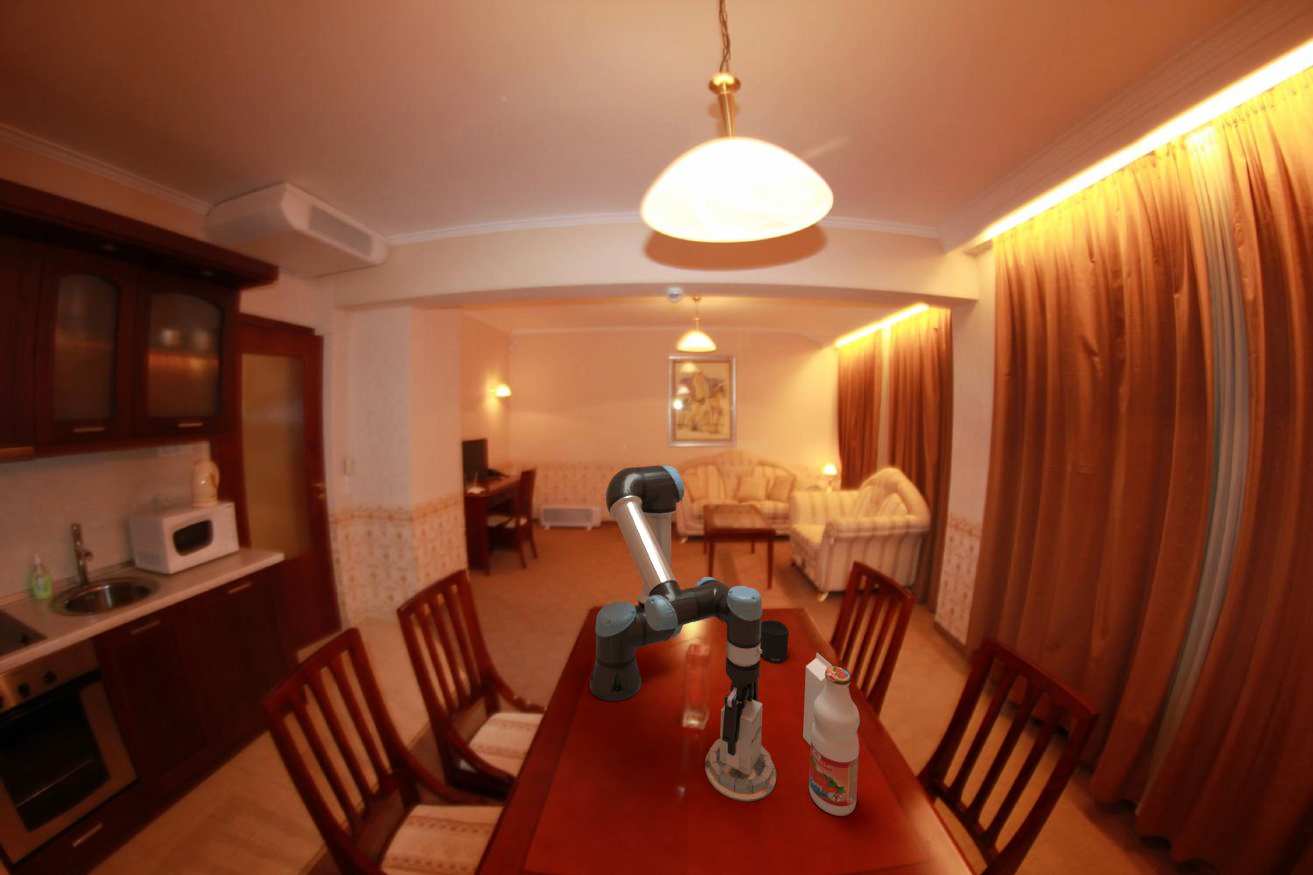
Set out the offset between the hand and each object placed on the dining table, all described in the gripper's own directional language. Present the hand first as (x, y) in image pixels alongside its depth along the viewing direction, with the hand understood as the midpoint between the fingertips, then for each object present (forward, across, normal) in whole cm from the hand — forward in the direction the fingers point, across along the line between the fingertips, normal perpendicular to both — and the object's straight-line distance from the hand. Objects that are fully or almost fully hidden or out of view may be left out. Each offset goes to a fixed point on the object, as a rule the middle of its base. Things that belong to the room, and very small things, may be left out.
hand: (740, 753), depth 101 cm
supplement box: (+1, 0, 0) cm, 1 cm away
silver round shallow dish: (+4, 0, 0) cm, 4 cm away
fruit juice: (+4, +5, -19) cm, 20 cm away
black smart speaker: (+4, +49, +10) cm, 50 cm away
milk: (+4, +19, -13) cm, 23 cm away
